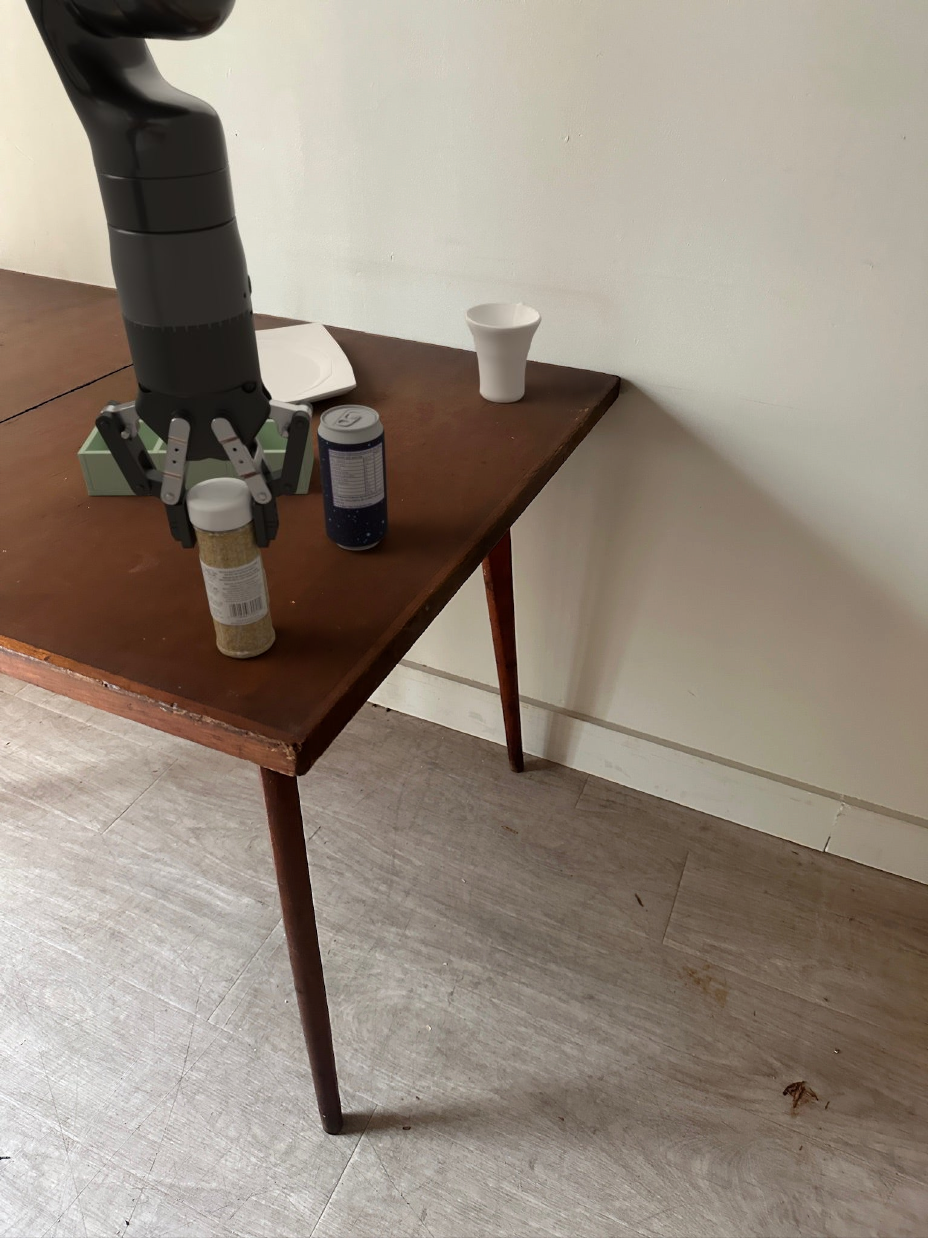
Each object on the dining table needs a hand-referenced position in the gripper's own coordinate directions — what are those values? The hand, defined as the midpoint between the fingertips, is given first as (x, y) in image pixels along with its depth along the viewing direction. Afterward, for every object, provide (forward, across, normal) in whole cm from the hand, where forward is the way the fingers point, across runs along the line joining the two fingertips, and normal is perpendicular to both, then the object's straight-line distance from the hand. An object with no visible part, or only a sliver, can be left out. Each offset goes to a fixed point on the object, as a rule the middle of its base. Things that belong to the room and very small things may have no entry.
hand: (228, 541), depth 62 cm
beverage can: (+10, +8, +15) cm, 19 cm away
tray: (+9, -8, +27) cm, 30 cm away
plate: (+10, -7, +52) cm, 53 cm away
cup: (+10, +24, +48) cm, 55 cm away
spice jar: (+10, 0, 0) cm, 10 cm away
